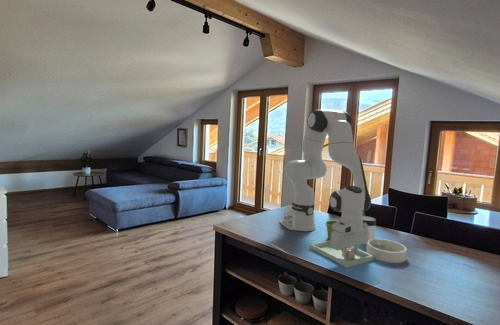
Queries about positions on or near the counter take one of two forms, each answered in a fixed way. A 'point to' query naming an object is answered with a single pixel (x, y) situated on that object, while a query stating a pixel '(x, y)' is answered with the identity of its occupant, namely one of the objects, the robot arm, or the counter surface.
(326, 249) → the parts tray
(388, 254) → the bowl
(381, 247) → the grey ball
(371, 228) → the jar
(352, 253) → the stone sand
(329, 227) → the plant pot
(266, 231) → the counter surface
